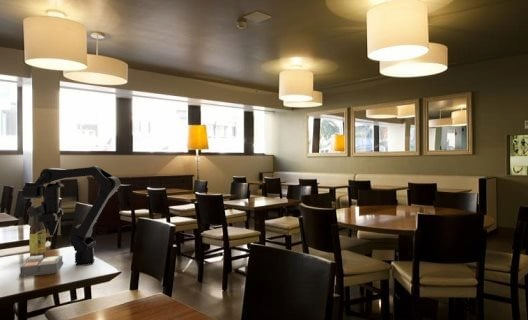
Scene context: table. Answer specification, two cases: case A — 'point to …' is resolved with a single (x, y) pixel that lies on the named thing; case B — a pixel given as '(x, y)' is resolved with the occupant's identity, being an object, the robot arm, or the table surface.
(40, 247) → the sauce bottle
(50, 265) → the keypad housing
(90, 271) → the table surface
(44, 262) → the cream key
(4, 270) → the table surface
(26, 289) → the table surface
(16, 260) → the table surface
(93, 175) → the robot arm
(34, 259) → the grey key
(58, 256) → the sage key
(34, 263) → the terracotta key
